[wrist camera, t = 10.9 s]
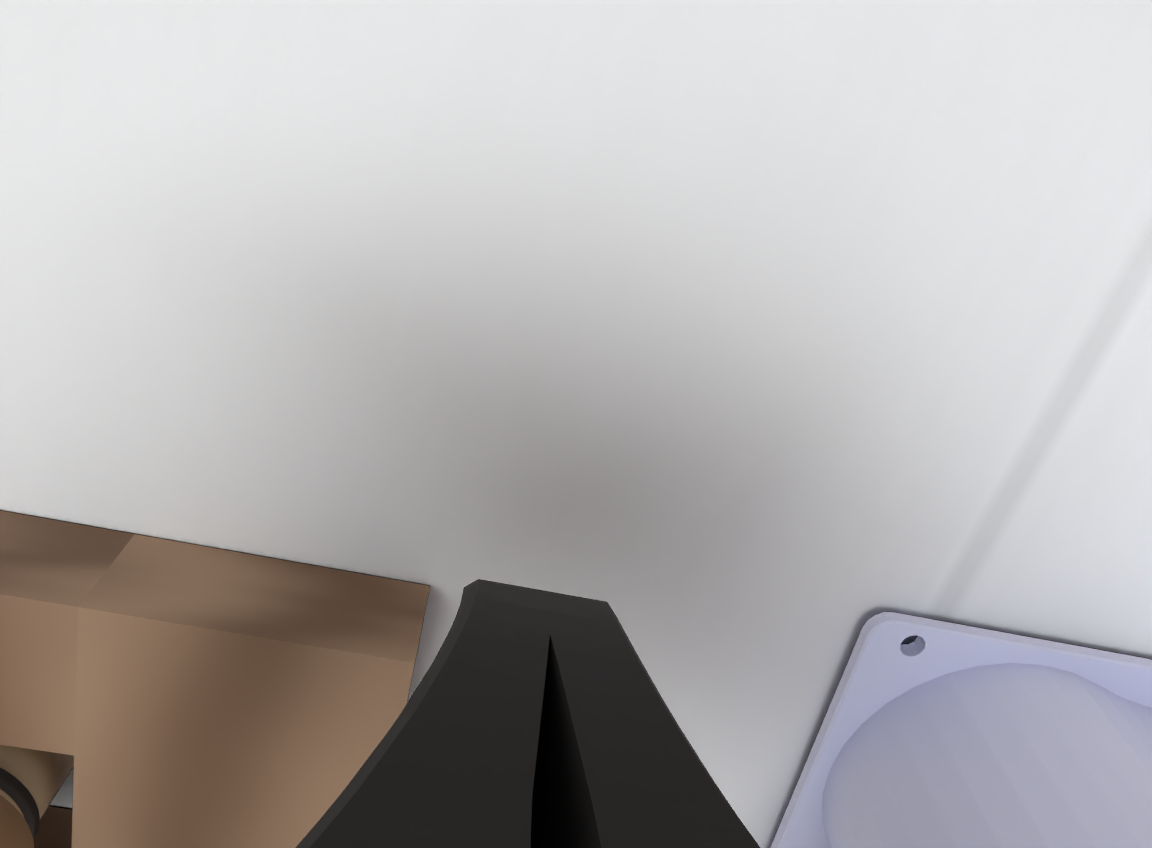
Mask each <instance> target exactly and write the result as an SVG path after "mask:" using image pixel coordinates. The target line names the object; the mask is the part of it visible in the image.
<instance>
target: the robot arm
mask: <svg viewBox="0 0 1152 848" xmlns="http://www.w3.org/2000/svg"><path fill="white" fill-rule="evenodd" d="M916 635H918V637H917V638H916V640H915V641H914V642H912V643H910V644H904V645H901V643H902V641H903V640H904V639H905V638H907V637H909V636H916ZM295 848H760V847H759V845H758V844H757V843H756V841H755V840H754V838H753V837H752V836H751V834H750V833H749V831H748V830H747V829H746V827H745V826H744V825H743V823H742V822H741V820H740V819H739V818H738V816H737V815H736V813H735V812H734V810H733V809H732V807H731V806H730V804H729V803H728V801H727V800H726V799H725V797H724V796H723V794H722V793H721V791H720V790H719V788H718V787H717V785H716V784H715V782H714V781H713V779H712V778H711V776H710V774H709V773H708V771H707V770H706V768H705V767H704V765H703V763H702V762H701V760H700V759H699V757H698V755H697V754H696V752H695V751H694V749H693V748H692V746H691V744H690V743H689V741H688V740H687V738H686V737H685V735H684V733H683V732H682V730H681V729H680V727H679V726H678V724H677V722H676V721H675V719H674V717H673V716H672V714H671V712H670V711H669V709H668V707H667V706H666V704H665V702H664V700H663V699H662V697H661V695H660V694H659V692H658V690H657V688H656V687H655V685H654V683H653V681H652V680H651V678H650V676H649V675H648V673H647V671H646V669H645V667H644V666H643V664H642V662H641V660H640V659H639V657H638V655H637V653H636V651H635V650H634V648H633V646H632V644H631V642H630V640H629V639H628V637H627V635H626V633H625V631H624V630H623V628H622V626H621V624H620V622H619V620H618V619H617V617H616V615H615V614H614V612H613V610H612V609H611V607H610V606H609V604H608V603H607V602H604V601H599V600H593V599H587V598H582V597H576V596H570V595H565V594H559V593H553V592H548V591H542V590H537V589H531V588H525V587H520V586H514V585H508V584H503V583H497V582H491V581H486V580H480V579H478V580H476V581H475V582H473V583H471V584H469V585H468V586H466V587H464V590H463V595H462V599H461V604H460V607H459V610H458V612H457V615H456V618H455V620H454V622H453V625H452V627H451V629H450V631H449V633H448V635H447V637H446V639H445V641H444V643H443V645H442V647H441V648H440V650H439V652H438V654H437V656H436V658H435V660H434V661H433V663H432V665H431V666H430V668H429V670H428V671H427V673H426V674H425V676H424V678H423V679H422V681H421V682H420V684H419V685H418V687H417V689H416V690H415V692H414V693H413V695H412V696H411V698H410V700H409V701H408V703H407V704H406V706H405V707H404V709H403V711H402V712H401V714H400V715H399V717H398V718H397V720H396V721H395V722H394V724H393V725H392V727H391V728H390V730H389V731H388V732H387V734H386V735H385V736H384V738H383V739H382V740H381V742H380V743H379V744H378V745H377V747H376V748H375V749H374V751H373V752H372V753H371V755H370V756H369V757H368V759H367V760H366V761H365V763H364V764H363V765H362V767H361V768H360V769H359V771H358V772H357V773H356V775H355V776H354V777H353V779H352V780H351V781H350V783H349V784H348V785H347V787H346V788H345V789H344V790H343V792H342V793H341V794H340V795H339V797H338V798H337V799H336V800H335V802H334V803H333V804H332V805H331V806H330V808H329V809H328V810H327V811H326V812H325V814H324V815H323V816H322V817H321V818H320V820H319V821H318V822H317V823H316V824H315V826H314V827H313V828H312V829H311V830H310V831H309V832H308V834H307V835H306V836H305V837H304V838H303V839H302V841H301V842H300V843H299V844H298V845H297V846H296V847H295ZM770 848H1152V659H1146V658H1141V657H1135V656H1130V655H1124V654H1119V653H1113V652H1108V651H1102V650H1097V649H1091V648H1086V647H1080V646H1075V645H1070V644H1064V643H1059V642H1053V641H1048V640H1042V639H1037V638H1031V637H1026V636H1020V635H1015V634H1009V633H1004V632H998V631H993V630H987V629H982V628H976V627H971V626H965V625H960V624H954V623H949V622H943V621H938V620H933V619H927V618H922V617H916V616H911V615H905V614H900V613H894V612H883V613H880V614H877V615H874V616H873V617H871V618H870V619H869V620H867V622H866V623H865V625H864V626H863V628H862V630H861V632H860V635H859V637H858V639H857V642H856V644H855V647H854V649H853V651H852V654H851V656H850V659H849V661H848V663H847V666H846V668H845V670H844V673H843V675H842V678H841V680H840V682H839V685H838V687H837V690H836V692H835V694H834V697H833V699H832V702H831V704H830V706H829V709H828V711H827V713H826V716H825V718H824V721H823V723H822V725H821V728H820V730H819V733H818V735H817V737H816V740H815V742H814V745H813V747H812V749H811V752H810V754H809V757H808V759H807V761H806V764H805V766H804V768H803V771H802V773H801V776H800V778H799V780H798V783H797V785H796V788H795V790H794V792H793V795H792V797H791V800H790V802H789V804H788V807H787V809H786V812H785V814H784V816H783V819H782V821H781V823H780V826H779V828H778V831H777V833H776V835H775V838H774V840H773V843H772V845H771V847H770Z"/></svg>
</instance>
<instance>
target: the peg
mask: <svg viewBox="0 0 1152 848" xmlns="http://www.w3.org/2000/svg"><path fill="white" fill-rule="evenodd" d="M73 766H74V755H67V754H60V753H54V752H47V751H40V750H33V749H27V748H20V747H13V746H6V745H0V848H34V841H33V840H34V838H35V837H36V835H37V832H38V830H39V824H40V819H41V817H42V816H43V814H44V812H45V811H46V809H47V808H48V806H49V804H50V803H51V801H52V800H53V798H54V796H55V795H56V793H57V791H58V790H59V788H60V787H61V785H62V783H63V782H64V780H65V779H66V777H67V775H68V774H69V772H70V771H71V769H72V767H73Z"/></svg>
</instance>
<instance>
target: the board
mask: <svg viewBox="0 0 1152 848" xmlns="http://www.w3.org/2000/svg"><path fill="white" fill-rule="evenodd" d="M429 589H430V586H428V585H422V584H416V583H410V582H405V581H399V580H393V579H388V578H382V577H376V576H371V575H365V574H359V573H353V572H348V571H342V570H336V569H331V568H325V567H319V566H314V565H308V564H302V563H296V562H291V561H285V560H279V559H274V558H268V557H262V556H257V555H251V554H245V553H239V552H234V551H228V550H222V549H217V548H211V547H205V546H200V545H194V544H188V543H182V542H177V541H171V540H165V539H160V538H154V537H148V536H143V535H137V534H131V533H125V532H120V531H114V530H108V529H103V528H97V527H91V526H85V525H80V524H74V523H68V522H63V521H57V520H51V519H46V518H40V517H34V516H28V515H23V514H17V513H11V512H6V511H0V745H6V746H13V747H20V748H27V749H33V750H40V751H47V752H54V753H60V754H67V755H74V777H73V810H71V809H64V808H56V807H49V806H48V808H47V809H46V811H45V812H44V814H43V816H42V817H41V819H40V824H39V830H38V832H37V835H36V837H35V838H34V840H33V841H34V848H295V847H296V846H297V845H298V844H299V843H300V842H301V841H302V839H303V838H304V837H305V836H306V835H307V834H308V832H309V831H310V830H311V829H312V828H313V827H314V826H315V824H316V823H317V822H318V821H319V820H320V818H321V817H322V816H323V815H324V814H325V812H326V811H327V810H328V809H329V808H330V806H331V805H332V804H333V803H334V802H335V800H336V799H337V798H338V797H339V795H340V794H341V793H342V792H343V790H344V789H345V788H346V787H347V785H348V784H349V783H350V781H351V780H352V779H353V777H354V776H355V775H356V773H357V772H358V771H359V769H360V768H361V767H362V765H363V764H364V763H365V761H366V760H367V759H368V757H369V756H370V755H371V753H372V752H373V751H374V749H375V748H376V747H377V745H378V744H379V743H380V742H381V740H382V739H383V738H384V736H385V735H386V734H387V732H388V731H389V730H390V728H391V727H392V725H393V724H394V722H395V721H396V720H397V718H398V717H399V715H400V714H401V712H402V711H403V709H404V707H405V706H406V704H407V700H408V695H409V690H410V685H411V680H412V675H413V670H414V664H415V659H416V654H417V649H418V644H419V639H420V634H421V629H422V624H423V619H424V614H425V609H426V604H427V599H428V594H429Z"/></svg>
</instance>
